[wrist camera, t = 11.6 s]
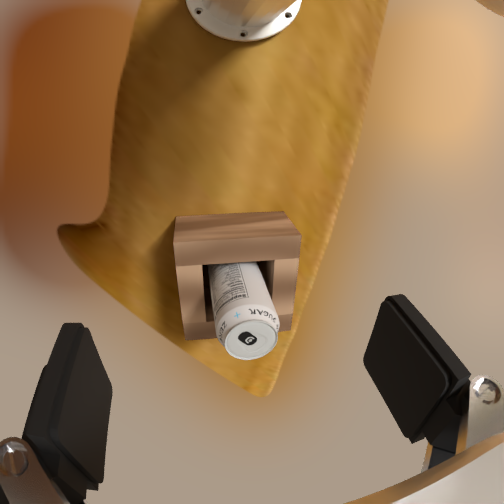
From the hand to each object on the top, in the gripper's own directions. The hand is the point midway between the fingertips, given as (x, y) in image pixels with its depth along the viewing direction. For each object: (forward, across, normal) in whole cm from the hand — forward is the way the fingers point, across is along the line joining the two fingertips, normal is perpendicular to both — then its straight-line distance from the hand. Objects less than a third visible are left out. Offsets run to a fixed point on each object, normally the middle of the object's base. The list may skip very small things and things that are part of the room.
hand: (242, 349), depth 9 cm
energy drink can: (+28, -3, +13) cm, 31 cm away
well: (+28, -3, +13) cm, 31 cm away
